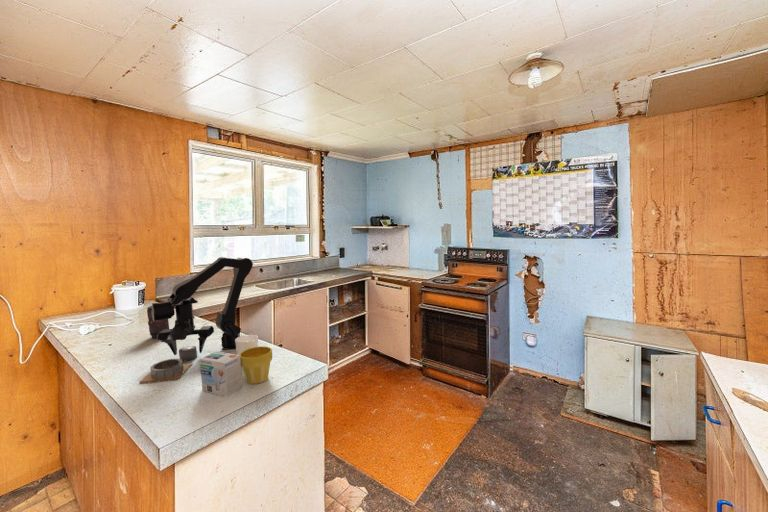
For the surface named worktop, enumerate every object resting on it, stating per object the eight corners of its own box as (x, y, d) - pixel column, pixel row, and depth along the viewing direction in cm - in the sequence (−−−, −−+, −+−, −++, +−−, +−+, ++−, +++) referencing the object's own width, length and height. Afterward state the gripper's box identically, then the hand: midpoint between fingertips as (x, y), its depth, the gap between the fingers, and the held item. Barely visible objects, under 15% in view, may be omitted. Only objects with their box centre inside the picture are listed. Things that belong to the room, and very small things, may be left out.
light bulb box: (201, 391, 104) (198, 358, 103) (218, 381, 110) (216, 350, 109) (226, 396, 100) (224, 363, 99) (243, 386, 106) (241, 354, 105)
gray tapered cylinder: (199, 354, 133) (198, 344, 133) (193, 360, 128) (192, 350, 127) (183, 356, 132) (182, 346, 132) (176, 362, 126) (175, 351, 126)
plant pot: (247, 373, 116) (245, 346, 115) (277, 371, 116) (275, 345, 115) (236, 387, 105) (234, 359, 104) (269, 386, 106) (267, 357, 105)
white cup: (237, 370, 118) (235, 343, 117) (236, 362, 125) (234, 336, 124) (260, 365, 122) (259, 339, 121) (258, 357, 129) (256, 333, 128)
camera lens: (160, 340, 151) (156, 308, 150) (145, 339, 153) (142, 308, 151) (174, 334, 159) (171, 304, 158) (160, 333, 161) (157, 303, 159)
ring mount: (192, 364, 124) (191, 356, 123) (178, 379, 112) (177, 370, 112) (157, 367, 122) (156, 359, 121) (139, 383, 110) (138, 373, 110)
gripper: (147, 323, 119) (151, 364, 120) (202, 319, 122) (206, 359, 124) (162, 315, 129) (166, 352, 131) (212, 311, 133) (215, 348, 134)
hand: (188, 353), depth 130 cm, fingers open, 9 cm apart
